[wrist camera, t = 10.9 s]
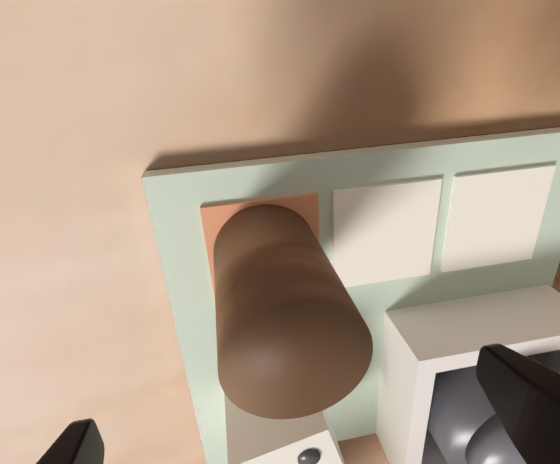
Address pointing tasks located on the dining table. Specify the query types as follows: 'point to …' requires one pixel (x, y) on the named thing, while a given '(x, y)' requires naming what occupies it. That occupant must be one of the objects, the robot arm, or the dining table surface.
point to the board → (384, 265)
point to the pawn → (283, 318)
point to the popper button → (468, 421)
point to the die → (280, 439)
